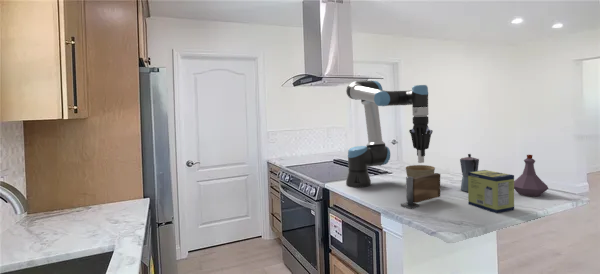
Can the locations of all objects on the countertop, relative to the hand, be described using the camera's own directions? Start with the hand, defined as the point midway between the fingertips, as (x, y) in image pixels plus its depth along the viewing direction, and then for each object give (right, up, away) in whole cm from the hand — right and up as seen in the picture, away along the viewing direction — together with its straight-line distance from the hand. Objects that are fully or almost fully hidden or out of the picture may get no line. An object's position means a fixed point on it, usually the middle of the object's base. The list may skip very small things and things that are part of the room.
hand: (421, 162), depth 167 cm
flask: (+55, -16, -1) cm, 57 cm away
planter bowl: (+9, -16, +27) cm, 33 cm away
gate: (0, -17, -7) cm, 19 cm away
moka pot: (+30, -16, +10) cm, 36 cm away
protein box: (+25, -19, -18) cm, 36 cm away
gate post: (-10, -20, -12) cm, 25 cm away
